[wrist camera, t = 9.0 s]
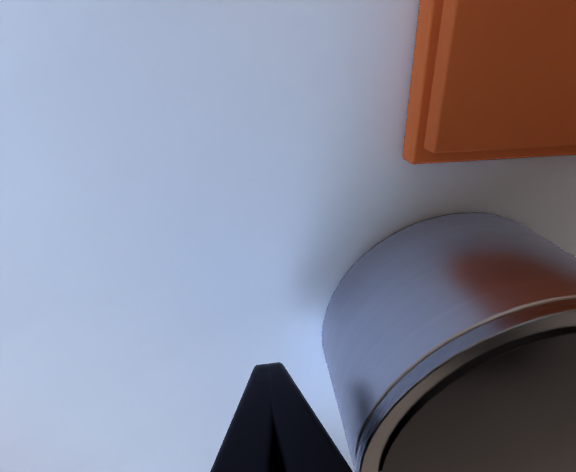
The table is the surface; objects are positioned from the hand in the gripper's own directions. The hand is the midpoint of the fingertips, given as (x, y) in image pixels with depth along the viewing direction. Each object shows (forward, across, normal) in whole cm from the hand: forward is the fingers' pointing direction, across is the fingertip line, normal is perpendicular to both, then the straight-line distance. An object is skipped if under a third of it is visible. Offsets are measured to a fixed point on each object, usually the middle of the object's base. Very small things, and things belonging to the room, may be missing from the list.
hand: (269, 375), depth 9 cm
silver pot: (+1, -5, 0) cm, 5 cm away
